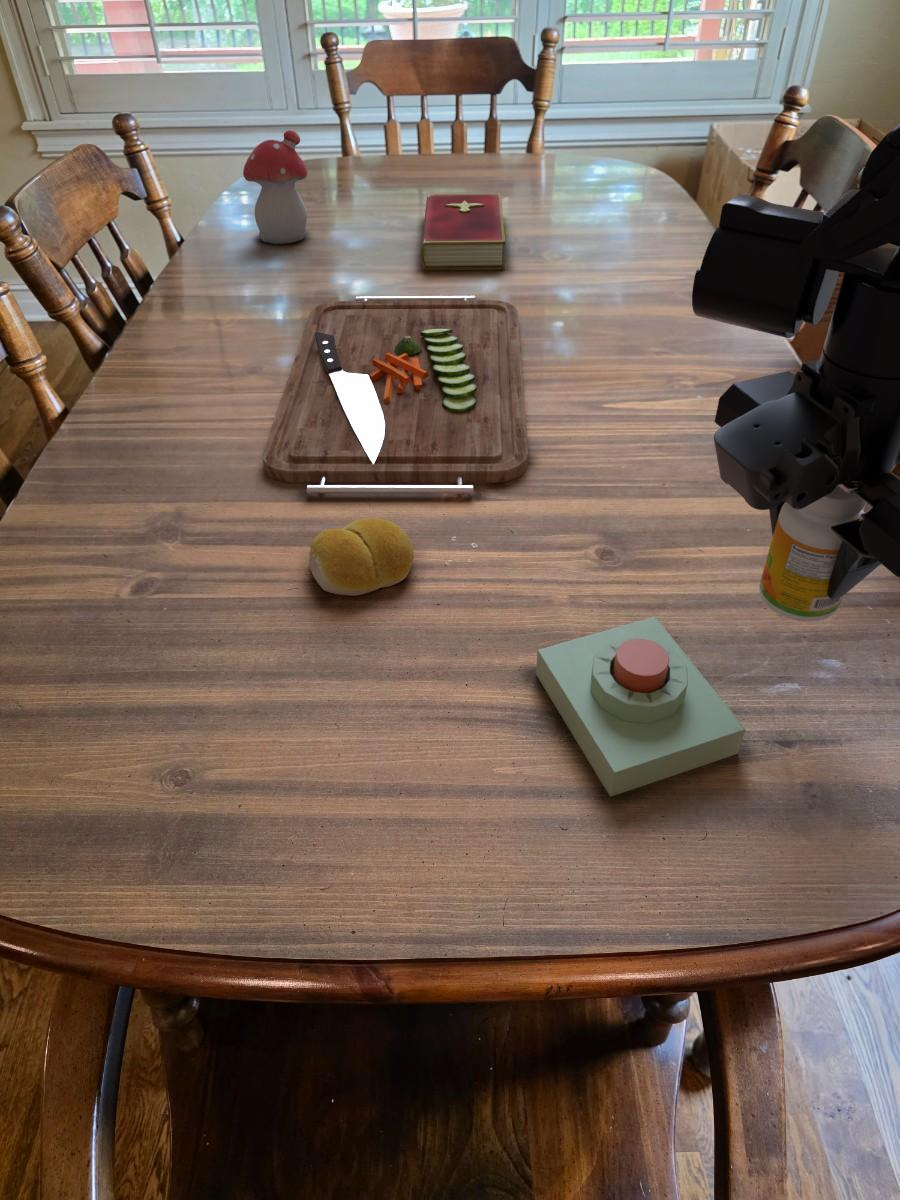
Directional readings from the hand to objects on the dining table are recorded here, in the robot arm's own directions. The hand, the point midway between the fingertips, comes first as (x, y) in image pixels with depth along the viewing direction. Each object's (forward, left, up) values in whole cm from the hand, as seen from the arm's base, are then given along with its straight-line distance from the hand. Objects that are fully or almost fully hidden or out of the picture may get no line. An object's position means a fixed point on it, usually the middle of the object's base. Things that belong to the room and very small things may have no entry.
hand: (806, 570), depth 59 cm
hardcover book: (-10, -93, -11) cm, 94 cm away
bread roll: (+26, -24, -11) cm, 36 cm away
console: (+12, -1, -11) cm, 16 cm away
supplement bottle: (0, 0, -3) cm, 3 cm away
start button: (+12, -1, -6) cm, 13 cm away
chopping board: (+12, -54, -11) cm, 56 cm away
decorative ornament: (+15, -106, -11) cm, 107 cm away
